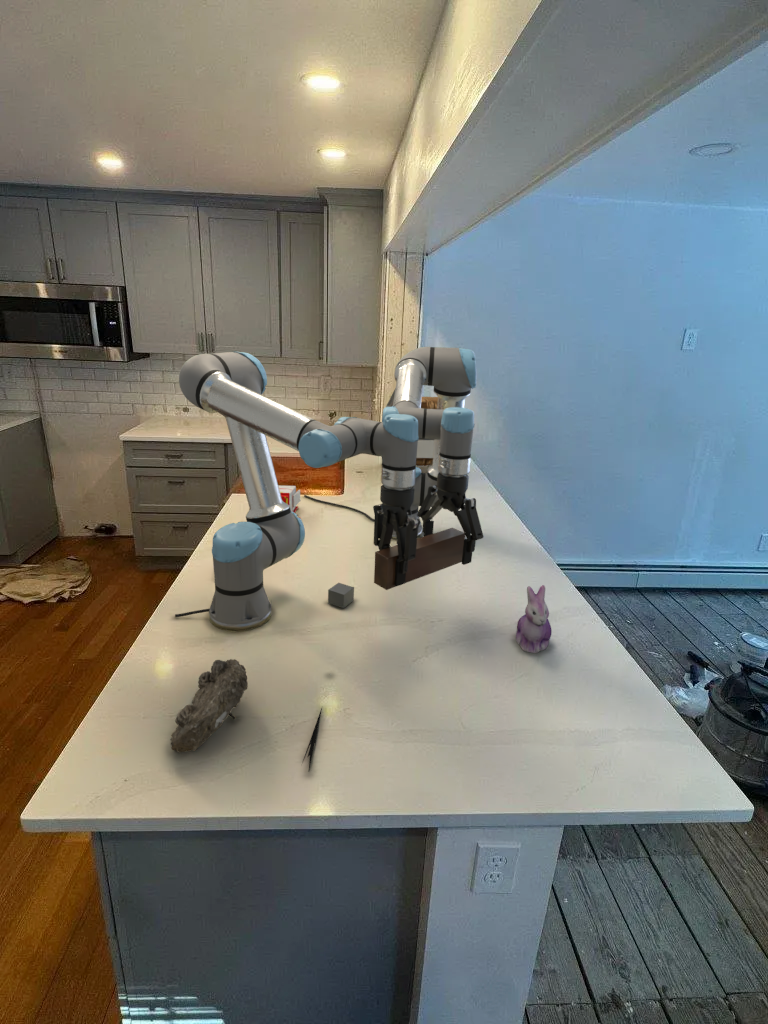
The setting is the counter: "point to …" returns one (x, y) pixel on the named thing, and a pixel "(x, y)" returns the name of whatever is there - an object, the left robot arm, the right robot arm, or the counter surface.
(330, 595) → the slate block
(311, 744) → the feather
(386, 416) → the left robot arm
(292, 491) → the toy
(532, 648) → the figurine
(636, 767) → the counter surface
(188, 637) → the counter surface
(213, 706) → the fossil
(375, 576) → the walnut beam
